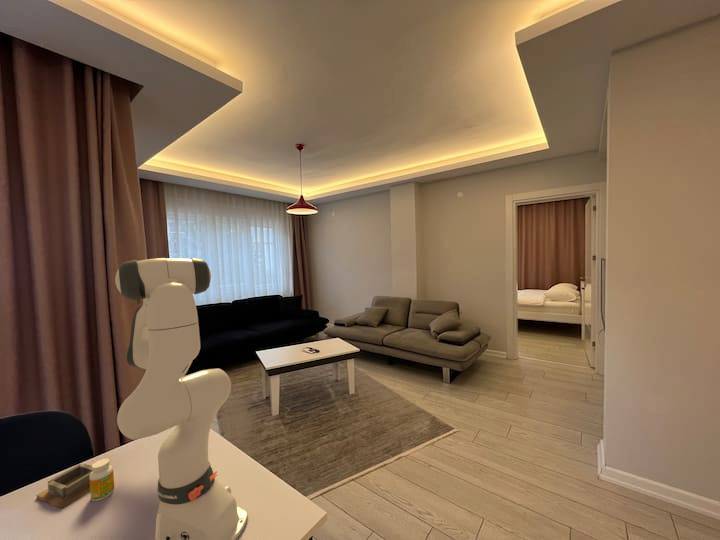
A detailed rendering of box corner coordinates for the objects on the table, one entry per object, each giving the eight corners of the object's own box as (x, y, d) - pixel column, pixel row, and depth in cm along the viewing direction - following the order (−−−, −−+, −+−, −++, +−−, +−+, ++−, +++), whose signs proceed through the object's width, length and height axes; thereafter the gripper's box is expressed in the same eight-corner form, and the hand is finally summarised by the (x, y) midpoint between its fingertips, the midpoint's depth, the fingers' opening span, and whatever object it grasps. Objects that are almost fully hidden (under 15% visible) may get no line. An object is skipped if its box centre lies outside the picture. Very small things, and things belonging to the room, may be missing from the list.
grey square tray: (109, 478, 96) (108, 466, 96) (61, 508, 84) (60, 495, 84) (85, 470, 100) (84, 458, 99) (36, 498, 88) (35, 485, 88)
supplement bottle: (100, 502, 86) (98, 470, 86) (86, 500, 87) (83, 468, 87) (119, 488, 91) (117, 457, 91) (105, 486, 92) (102, 456, 92)
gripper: (133, 382, 108) (105, 423, 99) (176, 389, 101) (149, 434, 92) (147, 389, 112) (120, 429, 104) (188, 396, 106) (163, 439, 97)
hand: (134, 431), depth 98 cm, fingers open, 8 cm apart
